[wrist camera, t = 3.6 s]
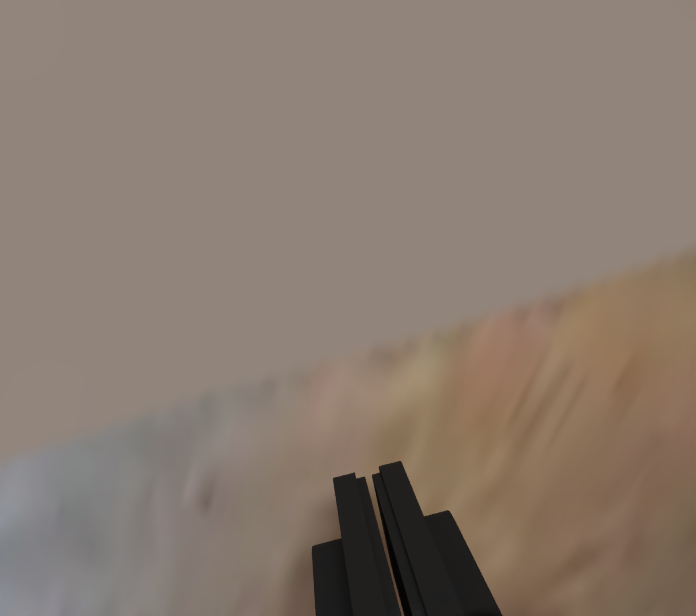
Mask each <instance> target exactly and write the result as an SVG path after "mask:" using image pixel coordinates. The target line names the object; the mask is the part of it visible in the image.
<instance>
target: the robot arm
mask: <svg viewBox="0 0 696 616" xmlns="http://www.w3.org/2000/svg"><path fill="white" fill-rule="evenodd" d="M379 471H380V473H377V474H373V475H372V478H373V483H374V488H375V492H376V497H377V502H378V506H379V511H380V516H381V520H382V525H383V530H384V534H385V539H386V544H387V548H388V553H389V558H390V562H391V567H392V571H393V575H394V579H395V583H396V586H397V590H398V594H399V597H400V601H401V605H402V609H403V612H404V616H502V614H501V612H500V610H499V608H498V606H497V604H496V602H495V600H494V598H493V596H492V594H491V592H490V590H489V588H488V586H487V584H486V582H485V580H484V578H483V576H482V574H481V572H480V570H479V568H478V566H477V564H476V562H475V560H474V558H473V556H472V554H471V552H470V550H469V548H468V546H467V544H466V542H465V540H464V538H463V536H462V534H461V532H460V530H459V528H458V526H457V524H456V522H455V520H454V518H453V516H452V514H451V513H450V511H448V510H447V511H443V512H439V513H436V514H432V515H428V516H423V513H422V511H421V508H420V506H419V503H418V501H417V499H416V496H415V494H414V491H413V489H412V486H411V484H410V482H409V479H408V477H407V474H406V472H405V469H404V467H403V465H402V462H401V461H398V462H394V463H390V464H386V465H382V466H379ZM333 483H334V489H335V496H336V503H337V509H338V516H339V523H340V529H341V536H342V538H341V539H337V540H333V541H329V542H326V543H322V544H318V545H314V546H312V560H313V576H314V593H315V609H316V616H401V612H400V608H399V604H398V600H397V597H396V593H395V589H394V585H393V581H392V578H391V574H390V570H389V566H388V562H387V559H386V555H385V551H384V547H383V543H382V540H381V536H380V532H379V528H378V524H377V521H376V517H375V513H374V509H373V505H372V501H371V498H370V494H369V490H368V486H367V482H366V479H365V477H361V478H357V479H356V476H355V473H351V474H347V475H343V476H339V477H335V478H333Z"/></svg>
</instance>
